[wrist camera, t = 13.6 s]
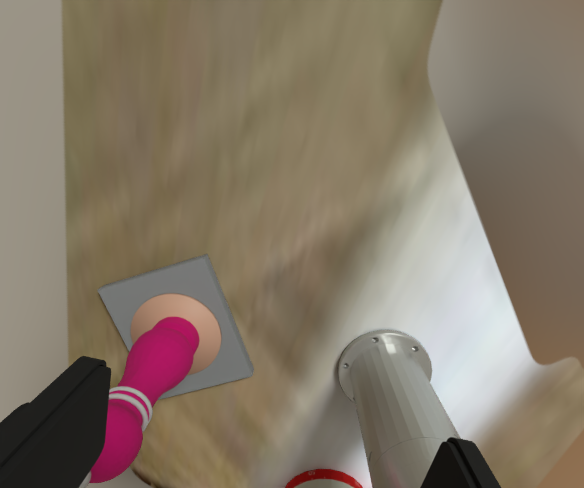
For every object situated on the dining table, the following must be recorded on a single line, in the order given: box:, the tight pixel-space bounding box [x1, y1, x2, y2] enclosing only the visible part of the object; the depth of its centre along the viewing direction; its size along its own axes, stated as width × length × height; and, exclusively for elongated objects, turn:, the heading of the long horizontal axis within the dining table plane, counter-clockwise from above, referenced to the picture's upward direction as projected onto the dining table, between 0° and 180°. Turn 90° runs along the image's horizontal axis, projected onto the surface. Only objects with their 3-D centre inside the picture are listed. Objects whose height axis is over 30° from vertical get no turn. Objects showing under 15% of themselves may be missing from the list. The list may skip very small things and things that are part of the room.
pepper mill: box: [79, 317, 200, 488], centre depth 32 cm, size 7×7×20 cm
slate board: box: [98, 254, 254, 400], centre depth 43 cm, size 18×15×2 cm
